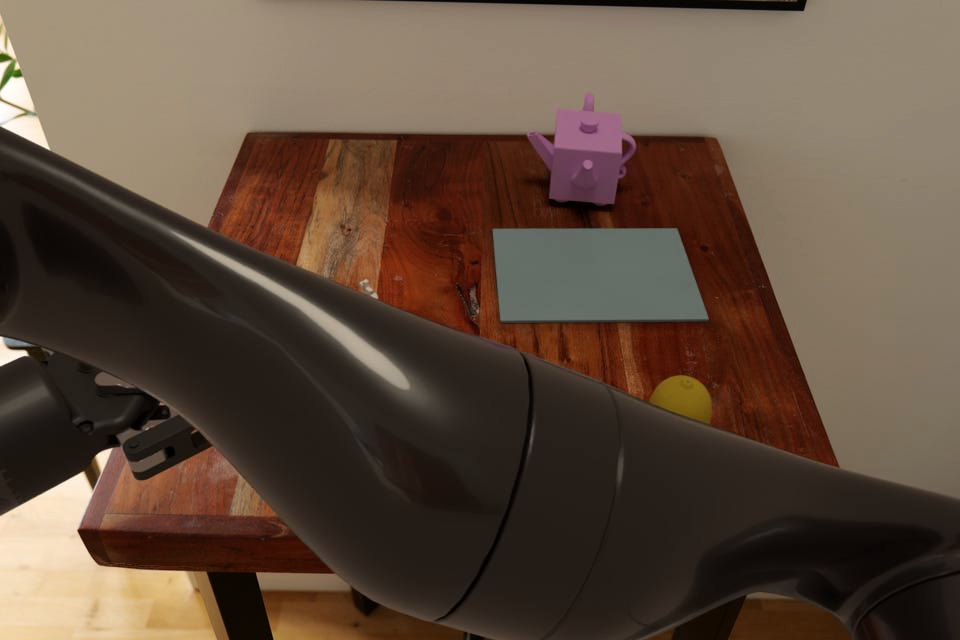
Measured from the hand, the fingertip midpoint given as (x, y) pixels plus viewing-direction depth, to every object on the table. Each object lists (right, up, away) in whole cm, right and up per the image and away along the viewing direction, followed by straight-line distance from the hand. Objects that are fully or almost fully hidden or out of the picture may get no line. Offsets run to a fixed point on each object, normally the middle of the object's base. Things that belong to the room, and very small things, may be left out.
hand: (237, 323), depth 56 cm
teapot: (+28, +17, +52) cm, 62 cm away
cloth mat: (+29, +5, +40) cm, 49 cm away
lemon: (+33, -11, +22) cm, 42 cm away
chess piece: (+5, -4, +29) cm, 30 cm away
